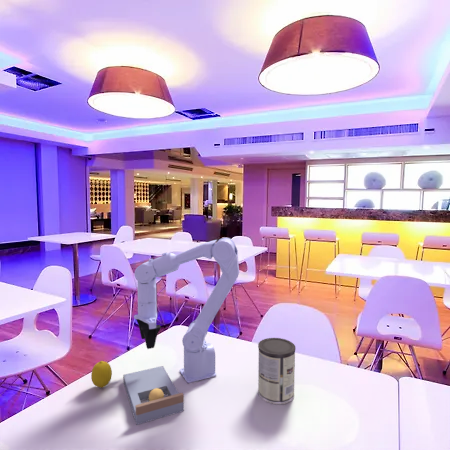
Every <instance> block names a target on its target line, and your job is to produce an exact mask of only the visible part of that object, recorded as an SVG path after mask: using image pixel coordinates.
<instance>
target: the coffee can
mask: <svg viewBox="0 0 450 450" xmlns="http://www.w3.org/2000/svg"><path fill="white" fill-rule="evenodd" d="M257 345H258V346H257V347H258V371H257V372H258V380H257V381H258V383H257V384H258V388H257V393H258V396H259V397H260V399H262V400H263V401H265V402H266V403H269V404H271V405H272V404H274V405H286V404H289V403H290V402H292V401H293V400H294V398H295V368H296V367H295V366H296V363H295V361H296V359H295V358H296V344H295V343H293V342H292V341H290V340H288V339H285V338H281V337H269V338H264V339H262V340H260V341H259V342H258V343H257Z"/></svg>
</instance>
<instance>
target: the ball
mask: <svg viewBox="0 0 450 450" xmlns="http://www.w3.org/2000/svg"><path fill="white" fill-rule="evenodd" d="M164 397H165V394H164V393H163V391H162V390H161V389H159V388H155V389H153V390H152V391H151V392H150V394H149V399H148V402H149V401H153V400H157V399H160V398H164Z"/></svg>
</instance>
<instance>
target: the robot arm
mask: <svg viewBox="0 0 450 450" xmlns="http://www.w3.org/2000/svg"><path fill="white" fill-rule="evenodd" d="M238 251H239V250H238V248H237V246H236V244H235V241H234V240H233V239H232V238H231V237H222V238H220V239H213V240H211V241H206V242H204V243H202V244H199V245H196V246H195V247H191V248H189V249H187V250H185V251H183V252H180V253H177V254H175V253H173V252H169V253H168V251H166V252H164V253H162V255H161V256H158V257H156V258H154V259H153V258H149V259H148V261H145V262H143V263H141V264H140V265H138V266H137V267H136V268H135V271H134V277H135V279H136V280H135V281H137V314H135V315H133V318H134V320H135V321H136V322H137V324H138V325H137V326H138V328H139V333H140V337H141V339H142V340H144V342H145V346H146V348H147V350H149V349H154V348H155V345H156V341H157V337H158V334H159V332H160V331H161V325H160V324H157V318H158V311H157V308H158V307H157V300H158V299H157V278H160V277H163V276H166V275H168V274H171V273H173V272H176V271H178V270H179V267H180V266H181V265H182V264H185V263H189V262H192V261H194V260H197V259H200V258H205V259H208V260H212V259H214V260H215V262H217V264H218V265H219V268H220V270H221V273H222V274H221V276H220V277H219V278H218V280H217V283H216V285H214V288H213V290H212V291H211V293H210V294H209V297H208V298H207V300H206V301H205V303H204V305H203V307H202V309H201V310H200V311H199V314H198V316H197V317H196V318H195V320H193V321H192V322H191V323H190V324H189V325H188V329H187V330H186V332H185V334H184V335H183V337H182V339H181V340H182V345H183V368H180V369H179V372H180V373H181V376H182V377H183V378H184V379H185V382H186V383H188V384H190V383H194V382H199V381H202V380H205V379H209V378H213V377H216V376H217V373H216V351H215V348H214V345H213V344H212V343H211V342H207V341H206V337H207V334H208V331H209V329H210V326H211V324H212V322H213V321H214V319H215V317H216V316H217V314H218V312H219V310H221V307H222V305H223V303H224V301H225V299H227V296H228V294H229V293H230V291H231V290H232V287H233V286H234V284H235V282H236V281H237V279H238V277H239V275H240V267H239V265H240V263H239V252H238Z"/></svg>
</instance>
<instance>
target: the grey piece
mask: <svg viewBox="0 0 450 450" xmlns="http://www.w3.org/2000/svg"><path fill="white" fill-rule="evenodd" d="M122 377H123V380H122V381H123V385H124V389H125V391H126V395H127V400H128V401H129V404H130V407H131V411H132V415H133V417H134V421H135V424H136V425H142V424H144V423H147V422H151V421H155V420H158V419H161V418H165V417H167V416H171V415H174V414H177V413H182V412H184V410H185V408H184V407H185V404H184V403H185V402H184V401H185V399H184V397H185V395H184V393H183V392H179V391H178V389H177V388H176V386H175V384H174V383H173V381H172V379H171V378H170V375H169V374H168V372H167V370H166V369H165V367H164V365H161V366H156V367H152V368H148V369H143V370H140V371H139V370H138V371H134V372H130V373H126V374H123V375H122ZM155 388H159V389H161V390H162V391H163V393H164V395H166V397H165V396H164V398H160V399H157V400H153V401H149V394H150V392H151V391H152V390H153V389H155ZM145 400H148V401H147V402H142V401H145Z"/></svg>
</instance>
